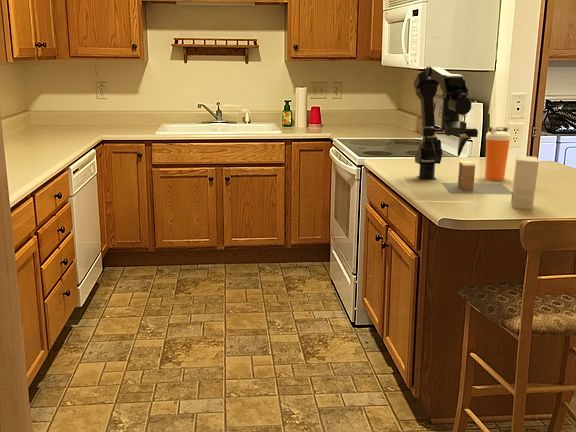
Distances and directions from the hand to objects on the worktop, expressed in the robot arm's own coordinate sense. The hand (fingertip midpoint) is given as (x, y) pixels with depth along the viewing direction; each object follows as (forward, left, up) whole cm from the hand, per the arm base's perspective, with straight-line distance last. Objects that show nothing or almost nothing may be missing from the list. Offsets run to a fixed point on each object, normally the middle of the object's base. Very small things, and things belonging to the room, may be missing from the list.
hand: (447, 156), depth 227 cm
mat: (0, +11, -12) cm, 16 cm away
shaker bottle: (-19, +22, -12) cm, 32 cm away
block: (0, +7, -11) cm, 13 cm away
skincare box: (+24, +20, -12) cm, 34 cm away
